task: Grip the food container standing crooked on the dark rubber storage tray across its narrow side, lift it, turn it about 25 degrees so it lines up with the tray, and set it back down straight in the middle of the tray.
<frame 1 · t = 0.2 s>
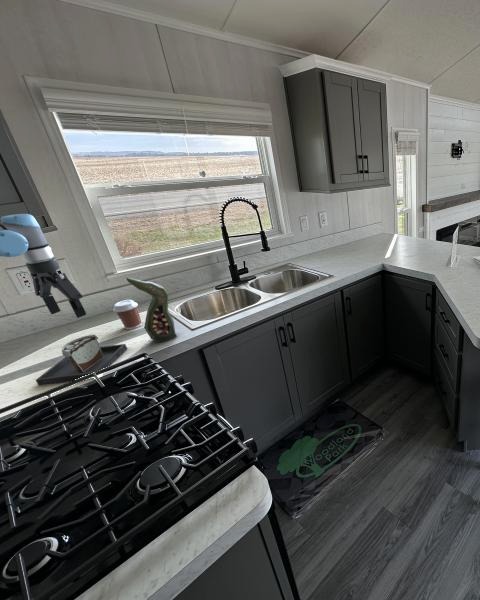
hand: (68, 314, 122), 20 cm above the countertop, tool pointing down, fingers open, 13 cm apart
coffee cup: (134, 325, 155), on the countertop
food container: (86, 365, 126), resting on storage tray
tentacle: (167, 337, 144), on the countertop
storage tray: (86, 365, 126), on the countertop
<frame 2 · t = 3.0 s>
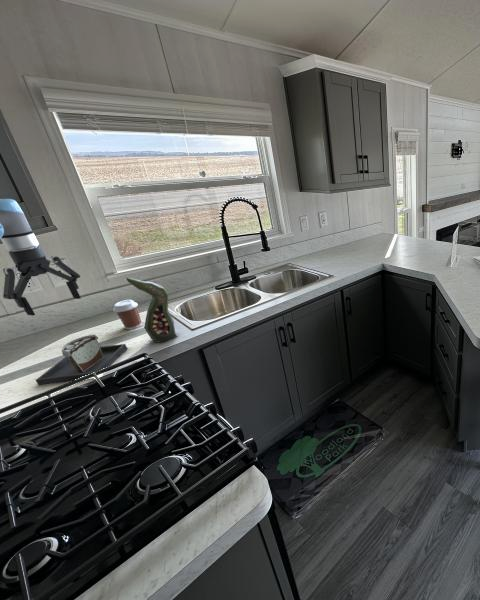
hand: (55, 306, 116), 26 cm above the countertop, tool pointing down, fingers open, 13 cm apart
nothing on the countertop moved.
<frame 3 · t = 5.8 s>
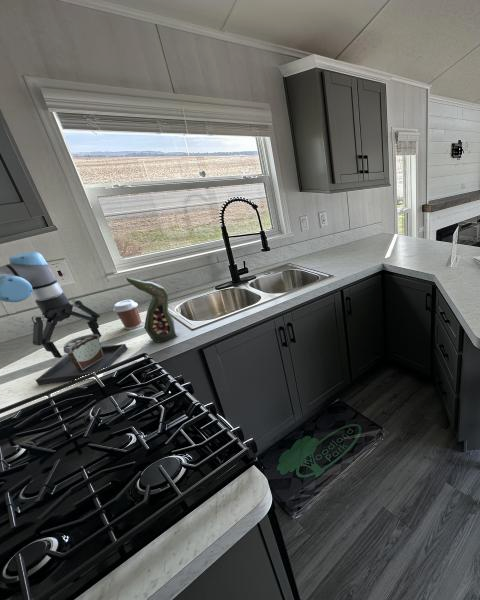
hand: (79, 346, 124), 8 cm above the countertop, tool pointing down, fingers open, 13 cm apart
food container: (85, 364, 126), point 1 cm above the countertop, touching gripper, storage tray
everything else where it was.
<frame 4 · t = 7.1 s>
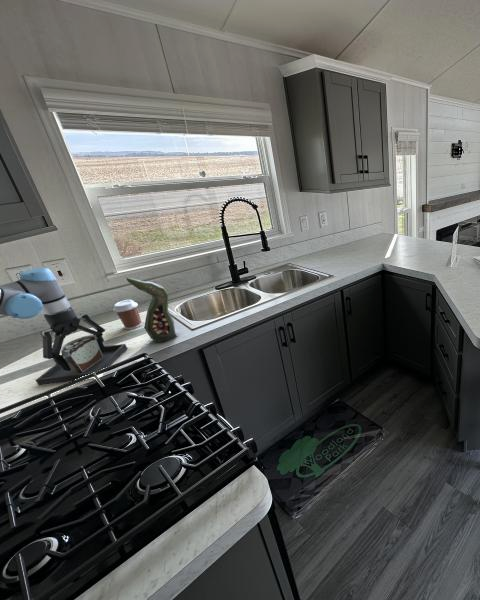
hand: (86, 359, 126), 2 cm above the countertop, tool pointing down, fingers closed on food container, 12 cm apart
food container: (85, 365, 126), resting on storage tray, touching gripper
everything else where it was.
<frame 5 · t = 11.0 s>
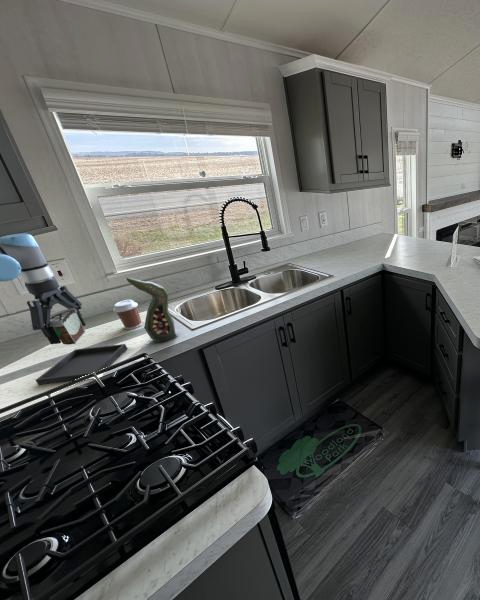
hand: (69, 334, 120), 14 cm above the countertop, tool pointing down, fingers closed on food container, 12 cm apart
food container: (70, 340, 120), point 12 cm above the countertop, touching gripper
everything else where it was.
when the fingers open (2 cm above the countertop, at t = 14.8 s): food container stays where it is, resting on storage tray.
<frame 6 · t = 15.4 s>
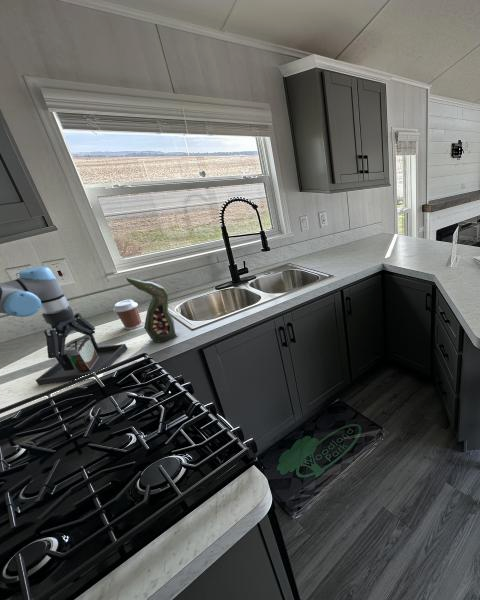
hand: (82, 359, 125), 3 cm above the countertop, tool pointing down, fingers open, 13 cm apart
food container: (84, 366, 126), resting on storage tray
everything else where it was.
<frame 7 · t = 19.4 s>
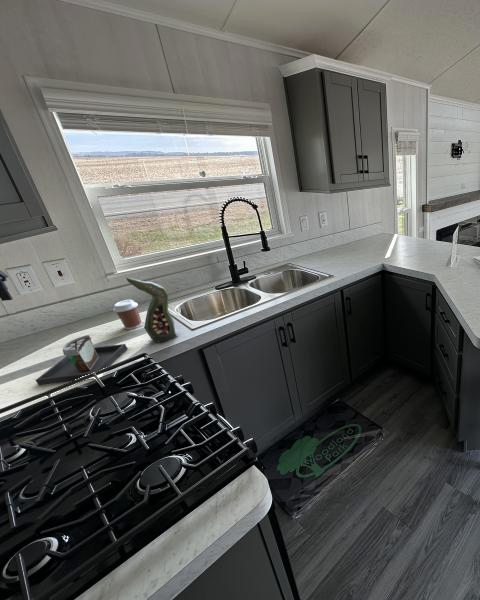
nothing on the countertop moved.
at the end: food container 0.9 cm off-centre in the storage tray, point 0.3 cm above the storage tray's base; food container tilted 0°; the gripper is holding nothing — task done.
